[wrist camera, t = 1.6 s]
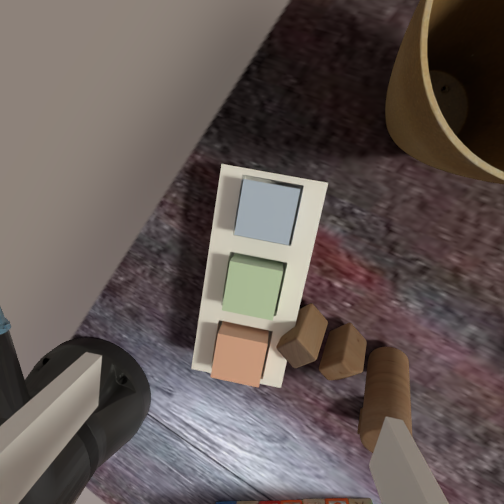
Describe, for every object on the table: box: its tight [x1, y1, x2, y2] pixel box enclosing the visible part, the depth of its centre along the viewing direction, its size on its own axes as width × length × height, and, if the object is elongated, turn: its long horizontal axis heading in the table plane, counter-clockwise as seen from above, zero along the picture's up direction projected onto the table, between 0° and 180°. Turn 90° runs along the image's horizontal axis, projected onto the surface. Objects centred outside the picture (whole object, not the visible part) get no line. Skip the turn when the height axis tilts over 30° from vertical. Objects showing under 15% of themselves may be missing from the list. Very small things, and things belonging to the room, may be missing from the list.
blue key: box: [234, 179, 300, 245], centre depth 27 cm, size 5×5×4 cm
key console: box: [191, 164, 328, 388], centre depth 31 cm, size 10×22×4 cm, turn 170°
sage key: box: [222, 253, 283, 321], centre depth 29 cm, size 5×5×4 cm
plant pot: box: [385, 0, 504, 184], centre depth 21 cm, size 15×15×16 cm
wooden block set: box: [276, 303, 412, 453], centre depth 30 cm, size 18×9×10 cm, turn 42°
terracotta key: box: [211, 321, 269, 388], centre depth 31 cm, size 5×5×4 cm
